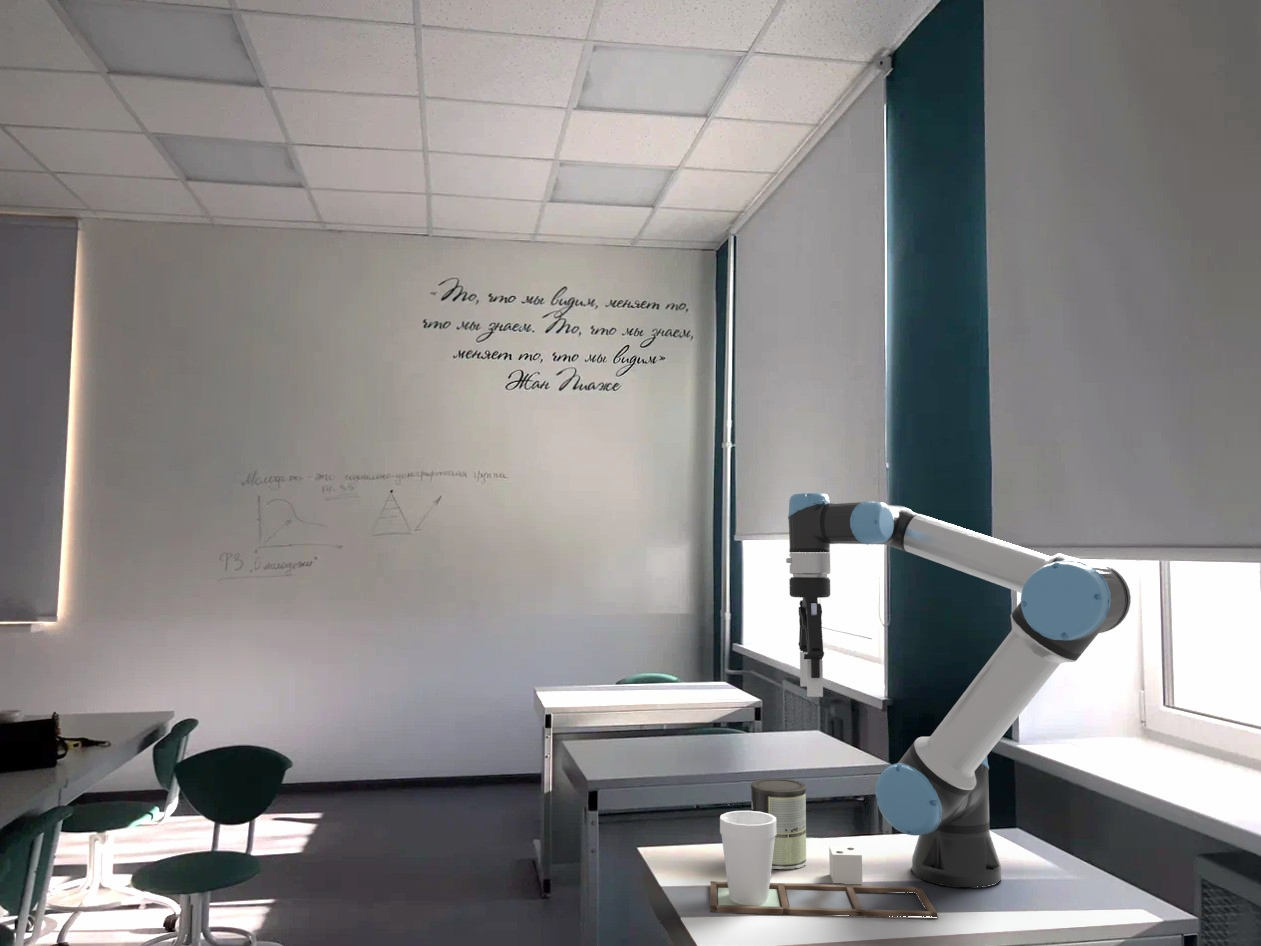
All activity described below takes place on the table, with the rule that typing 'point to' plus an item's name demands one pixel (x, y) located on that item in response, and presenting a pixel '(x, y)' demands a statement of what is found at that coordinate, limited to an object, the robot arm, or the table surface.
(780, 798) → the coffee can
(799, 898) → the walnut frame
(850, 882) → the white die
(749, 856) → the foam cup
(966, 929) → the table surface
